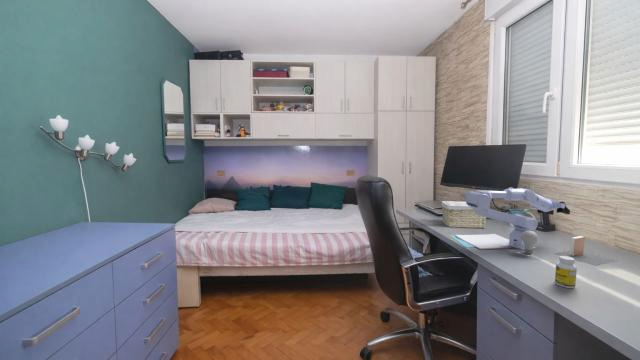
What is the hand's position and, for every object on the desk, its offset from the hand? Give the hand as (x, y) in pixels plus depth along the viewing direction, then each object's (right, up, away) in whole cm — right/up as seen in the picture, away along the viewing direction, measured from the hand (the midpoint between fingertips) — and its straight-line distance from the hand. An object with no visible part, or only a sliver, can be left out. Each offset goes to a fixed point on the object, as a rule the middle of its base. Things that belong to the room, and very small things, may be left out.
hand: (560, 212), depth 140 cm
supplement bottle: (-34, -21, -42) cm, 58 cm away
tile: (-5, -17, -14) cm, 22 cm away
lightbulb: (-25, -18, -11) cm, 33 cm away
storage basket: (-27, -13, +43) cm, 53 cm away
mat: (-3, -18, -16) cm, 25 cm away
